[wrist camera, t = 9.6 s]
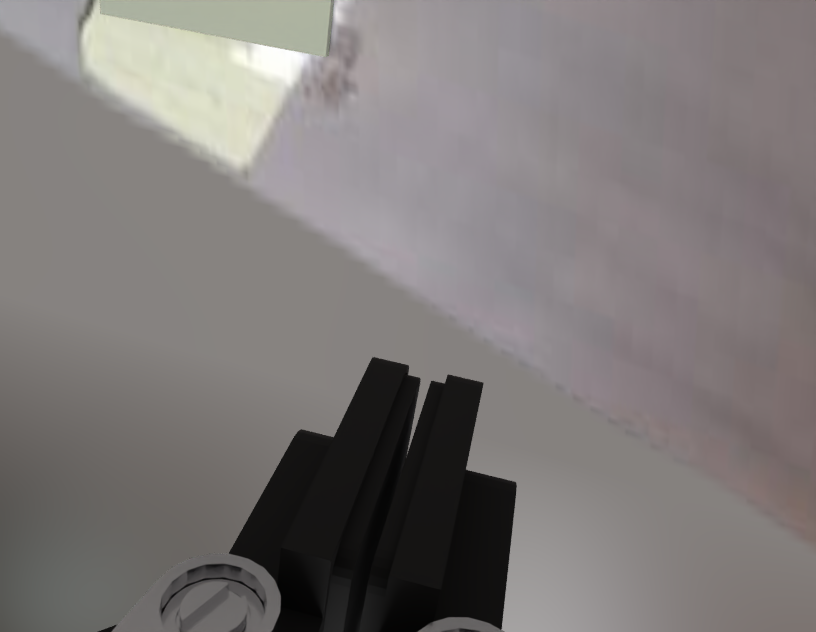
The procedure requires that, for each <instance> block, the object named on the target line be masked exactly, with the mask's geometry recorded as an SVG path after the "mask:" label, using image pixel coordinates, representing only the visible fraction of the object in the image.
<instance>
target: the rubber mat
mask: <svg viewBox="0 0 816 632" xmlns="http://www.w3.org/2000/svg"><path fill="white" fill-rule="evenodd" d="M333 3H334V0H100V14H104V15H109V16H114V17H119V18H124V19H130V20H135V21H140V22H145V23H151V24H156V25H161V26H166V27H171V28H177V29H182V30H187V31H192V32H197V33H203V34H208V35H213V36H218V37H224V38H229V39H234V40H239V41H244V42H250V43H255V44H260V45H265V46H270V47H276V48H281V49H286V50H291V51H297V52H302V53H307V54H312V55H317V56H323V57H327V56H329V46H330V35H331V24H332V14H333Z"/></svg>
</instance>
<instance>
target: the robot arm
mask: <svg viewBox="0 0 816 632" xmlns="http://www.w3.org/2000/svg"><path fill="white" fill-rule="evenodd" d="M408 371H409V366H408V365H405V364H401V363H397V362H392V361H387V360H384V359H379V358H375V357H374V358H372V359H371V361H370V363H369V365H368V367H367V370H366V372H365V374H364V376H363V378H362V380H361V382H360V384H359V386H358V388H357V390H356V392H355V395H354V397H353V399H352V401H351V403H350V405H349V407H348V409H347V411H346V413H345V415H344V418H343V419H342V422H341V424H340V426H339V428H338V430H337V432H336V434H335V436H334V437H330V436H326V435H322V434H318V433H314V432H310V431H306V430H300V431H298V432H297V434H296V435H295V436H294V438H293V440H292V442H291V443H290V445H289V447H288V449H287V451H286V452H285V454H284V456H283V458H282V459H281V461H280V463H279V465H278V466H277V468H276V470H275V472H274V474H273V476H272V477H271V479H270V481H269V483H268V484H267V486H266V488H265V490H264V492H263V493H262V495H261V497H260V499H259V500H258V502H257V504H256V506H255V508H254V509H253V511H252V513H251V515H250V516H249V518H248V520H247V522H246V524H245V525H244V527H243V529H242V531H241V533H240V534H239V536H238V538H237V540H236V541H235V543H234V545H233V547H232V549H231V550H230V552H229V554H207V555H202V556H198V557H193V558H190V559H187V560H185V561H183V562H181V563H179V564H177V565H175V566H173V567H172V568H170V569H169V570H168V571H167V572H166V573H164V574H163V575H162V576H161V577H160V578H159V579H158V580H157V581H156V582H155V583H154V584H153V585H152V586H151V588H150V589H149V590H148V591H147V592H146V593H145V594H144V595H143V597H142V598H141V599H140V600H139V601H138V602H137V603H136V604H135V606H134V607H133V608H132V609H131V610H130V611H129V612H128V613H127V615H126V616H125V617H124V618H123V619H122V620H121V622H120V623H119V624H118V625H115V626H112V627H109V628H107V629H104V630H101V631H99V632H504V631H502V630H501V629H502V620H503V611H504V610H503V609H504V601H505V591H506V582H507V572H508V564H509V554H510V545H511V536H512V526H513V517H514V508H515V498H516V487H517V486H516V482H512V481H508V480H505V479H501V478H497V477H492V476H488V475H485V474H480V473H476V472H472V471H468V470H466V466H467V461H468V456H469V451H470V446H471V441H472V436H473V431H474V427H475V422H476V417H477V412H478V407H479V403H480V397H481V393H482V388H483V383H482V382H478V381H474V380H469V379H465V378H461V377H457V376H452V375H447V379H446V382H445V384H444V383H439V382H435V381H431V384H430V387H429V389H428V393H427V396H426V399H425V402H424V405H423V408H422V411H421V414H420V417H419V420H418V424H417V427H416V430H415V433H414V436H413V439H412V442H411V445H410V448H409V451H408V454H407V450H408V445H409V440H410V435H411V429H412V424H413V419H414V413H415V408H416V402H417V397H418V392H419V386H420V378H418V377H414V376H409V375H408ZM406 456H407V457H406Z"/></svg>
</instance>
